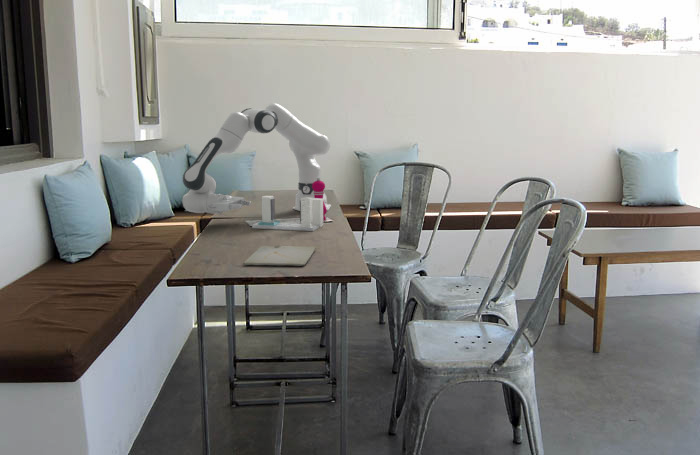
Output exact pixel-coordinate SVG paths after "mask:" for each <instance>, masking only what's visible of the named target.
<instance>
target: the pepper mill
mask: <svg viewBox="0 0 700 455" xmlns="http://www.w3.org/2000/svg"><path fill="white" fill-rule="evenodd" d="M312 188H313V190H314V191H313V192H314V193H313V194H314V197H315V198H321V199H323V194H324V193H325V189H326V184H325V182H324V181H322V180H321V181H320V178H319V177H318V178H317V181H315V182H314V183H313V184H312ZM327 211H328V210H327V209H326V206H325V204H324V201H323V222H325V221H327V216H326V214H327Z"/></svg>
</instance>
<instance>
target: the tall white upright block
mask: <svg viewBox="0 0 700 455" xmlns="http://www.w3.org/2000/svg"><path fill="white" fill-rule="evenodd" d="M261 219H262V220H261V221H262V222H267V223H274V220H276V199H275V197H274V195H263V196H261Z"/></svg>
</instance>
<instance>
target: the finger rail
mask: <svg viewBox="0 0 700 455" xmlns="http://www.w3.org/2000/svg"><path fill="white" fill-rule="evenodd" d="M299 219H300V222H301V223H298V222H295V223H294V222H281V221H280V220H276V219H274V223H267V222H262V220H260V221H258V222H255V223H252V224H251V229H259V230H260V229H265V230H279V231H280V230H283V231H284V230H285V231H305V232H315V231H316V230H318V229H319V228H320V227H319V224H313V197H303V198H301V200H300V211H299Z"/></svg>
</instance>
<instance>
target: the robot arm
mask: <svg viewBox="0 0 700 455" xmlns="http://www.w3.org/2000/svg"><path fill="white" fill-rule="evenodd" d="M273 130H275V131H276V132H278V133H279V134H280V135H281V136H282V137H284V138H285V139H286V140H287V141H288V145H289V148H290V150H291V152H293V155H294V156H295V160H296V163H297V166H298V181H299V182H298V184H297V186H298V187H297V189H298V191H297V192H296V194H295V206H293V207H292V209H293V210H296V211H299V212H300V200H301V198H303V197H313V199H314V198H315V197H314V194H313V193H314V192H313V191H314V190H313V188H312V184H313V183H314V182H315V181H317V178H318V177H319V178H320V181H322V179H321V178H322V177H321V176H322V174H321V173H322V170H321V168H322V167H321V166H320V164H319V163H318V162H317V160H316V156H317V157H318V156H322V155H326V154H327V153H328V152H329V151H330V148H331V141H330V139H329V138H328V136H327V135H324V134H322V133H320V132H319V131H316V130H315V129H313V128H311V126H309V125H306V124H305V123H303V122H302V121H301V120H299V119H298V118H297V117H296V116H295V115H294V114H293V113H292V112H290V110H288V109H287V108H285V107H284V106H282V105H281V104H279V103H276V102H272V103H269V104H268V105H267V106H266V107H265V109H263V108H262V109H261V108H253V107H252V108H246V109H243V110H242V111H241V112H239V111H233V112H232V113H230V114H229V116H228V117H227V118H226V119H225V121H223V123H222V126H221V127H220V129H219V131H218V132H217V134H216V135H215V136H214V137H213V138H211V139H210V140H209V141H208V142H207V143H206V145H205V146H204V148H202V150H201V152H200V153H199V154H198V156H197V157H196V159H195V160H194V161H193V163H192V164H191V165H190V166H188V167H187V168H186V170H184V172H183V174H182V183H183V185H184V186H185V187H186V188H187V189H189V190H188V192H187V193H186V194H184V195H183V196H182V198H181V199H182V206H183V208H184V209H185V210H186V211H188V212H190V213H195V214H204V213H208V214H217V215H222V214H223V212H224V213H225V212H229V211H232V210H239V209H242V208H243V207H244V206H251V204H252V203H251V201H250V200H246V198H245V197H242V196H236V195H229V194H222V193H216V190H217V187H218V186H217V185H218V184H217V182H216V180H215V178H213V177H212V176H211V175H210V174H208V173H207V169H208V168H209V167H210V165H211V164H212V162H213V161H214V160H215V158H216V157H217V156H218V155H220V154H231V153H234V152H236V151H237V149H238V148H239V147H240V146H241V144H242V141H243V140H244V138H245V136H246V135H247V133H248V132H252V133H258V134H259V133H260V134H269V133H271V132H272V131H273ZM323 201H324V204H325V206H326V209H327V211H329V210H330V208H331V207H332V205H331V204H330V203H329V204H328V202H327V194H326V193H325V192H324V194H323Z"/></svg>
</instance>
